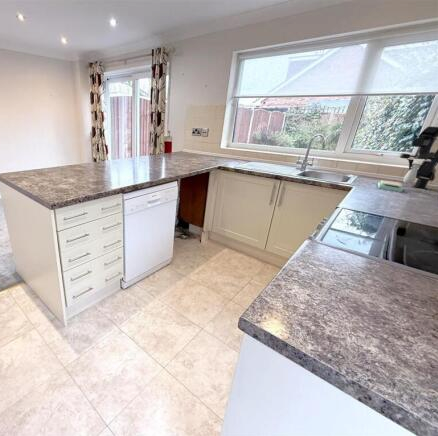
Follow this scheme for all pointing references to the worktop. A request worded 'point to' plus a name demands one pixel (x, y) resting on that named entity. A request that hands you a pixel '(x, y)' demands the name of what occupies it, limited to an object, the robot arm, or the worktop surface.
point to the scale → (390, 187)
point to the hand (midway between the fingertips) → (413, 170)
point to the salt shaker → (411, 173)
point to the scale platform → (391, 183)
